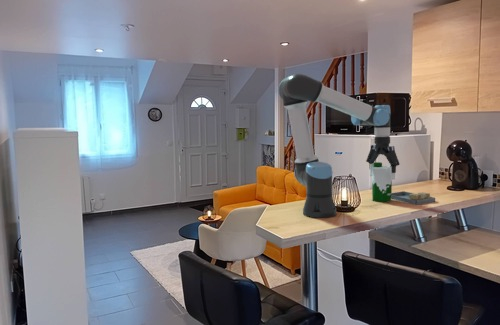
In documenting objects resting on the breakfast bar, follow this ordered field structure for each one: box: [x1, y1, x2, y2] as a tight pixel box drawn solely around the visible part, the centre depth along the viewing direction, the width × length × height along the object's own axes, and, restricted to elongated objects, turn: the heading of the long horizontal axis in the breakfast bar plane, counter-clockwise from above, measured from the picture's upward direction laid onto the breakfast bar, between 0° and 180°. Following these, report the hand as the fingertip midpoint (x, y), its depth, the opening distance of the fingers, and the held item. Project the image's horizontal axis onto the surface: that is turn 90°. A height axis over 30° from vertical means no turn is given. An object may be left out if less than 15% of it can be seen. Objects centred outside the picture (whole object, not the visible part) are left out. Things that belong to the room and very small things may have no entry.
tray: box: [391, 190, 436, 206], centre depth 195 cm, size 13×20×2 cm, turn 25°
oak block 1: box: [409, 192, 421, 201], centre depth 188 cm, size 4×4×4 cm
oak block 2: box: [417, 191, 431, 200], centre depth 190 cm, size 4×4×4 cm
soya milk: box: [371, 161, 393, 203], centre depth 194 cm, size 9×9×20 cm
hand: (382, 177), depth 194 cm, fingers open, 13 cm apart
